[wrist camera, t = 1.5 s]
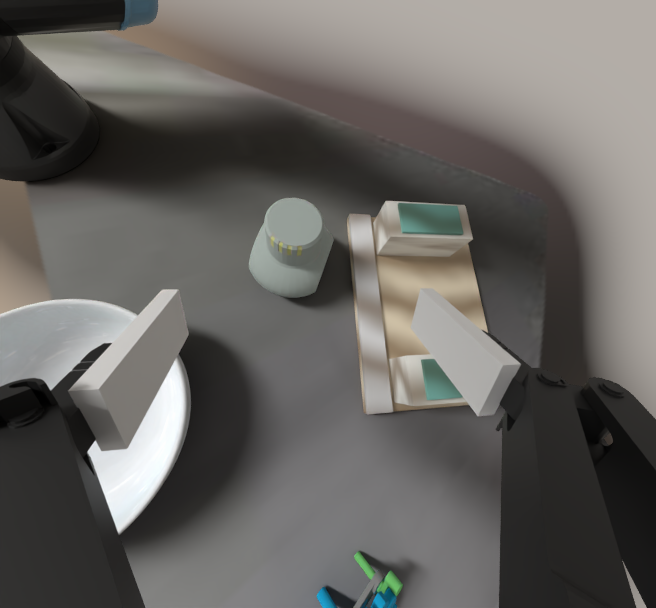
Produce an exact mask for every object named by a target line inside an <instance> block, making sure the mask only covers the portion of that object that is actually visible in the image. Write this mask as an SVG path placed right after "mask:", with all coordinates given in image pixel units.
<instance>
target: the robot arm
mask: <svg viewBox="0 0 656 608" xmlns="http://www.w3.org/2000/svg"><path fill="white" fill-rule="evenodd" d="M157 12H158V0H0V179H5V180H11V181H36V180H42V179H47V178H51V177H55V176H58V175H60V174H63V173H65V172H67V171H69V170H71V169H73V168H75V167H76V166H78V165H79V164H80V163H82V162H83V161H84V160H85V159H86V158H87V157H88V156H89V155H90V154H91V153H92V151H93V150H94V148H95V146H96V144H97V142H98V138H99V124H98V121H97V118H96V116H95V114H94V113H93V111H92V110H91V109H90V107H89V106H88V104H87V103H86V102H85V100H84V99H83V98H82V96H81V95H80V94H79V93H78V92H77V91H76V90H75V89H74V88H72V87H71V86H70V85H69V84H68V83H66V82H65V81H63V80H61V79H60V78H59V77H58V76H57V75H56V74H55V73H54V72H53V71H52V70H50V69H49V68H48V67H47V66H46V65H45V64H44V63H43V62H42V61H41V60H40V59H38V58H37V57H36V56H35V55H34V54H33V53H32V52H31V51H29V50H28V49H27V48H26V47H25V46H24V44H23V43H22V42H21V41H20V40H19V38H18V37H17V36H18V35H33V34H51V33H69V32H86V31H104V30H125V29H126V28H127V27H133V26H138V25H145V24H149V23H151V22H152V21H153V20H154V19H155V18H156V15H157ZM411 329H412V330H413V332H414V333H415V334H416V336H417V337H418V338H419V340H420V341H421V342H422V344H423V345H424V346H425V347H426V349H427V350H428V351H429V353H430V354H431V355H432V357H433V358H434V359H435V361H436V362H437V363H438V365H439V366H440V367H441V369H442V370H443V371H444V372H445V374H446V375H447V376H448V378H449V379H450V380H451V382H452V383H453V384H454V386H455V387H456V388H457V390H458V391H459V392H460V393H461V395H462V396H463V397H464V399H465V400H466V401H467V403H468V404H469V405H470V407H471V408H472V409H473V411H474V412H475V413H476V415H477V416H486V415H494V414H495V412H496V410H497V408H498V407H499V405H501V406H502V407H503V408H504V409H505V410H506V412H505V414H504V416H503V417H502V419H501V421H500V423H499V424H498V426H497V429H496V430H497V431H499V430H500V429H501V428H503V429H502V481H501V534H500V586H499V608H636V605H635V602H634V599H633V595H632V592H631V589H630V585H629V582H628V579H627V575H626V572H625V569H624V565H623V562H624V564H625V566H626V568H627V570H628V572H629V574H630V576H631V577H632V579H633V581H634V583H635V585H636V587H637V589H638V591H639V593H640V595H641V597H642V599H643V601H644V603H645V605H646V607H647V608H656V419H655V418H654V417H653V416H652V415H651V414H650V413H649V412H648V411H647V410H646V409H645V408H644V406H643V405H642V404H641V403H640V402H639V401H638V400H637V399H636V398H635V397H634V396H633V395H632V394H631V393H630V392H629V391H627V390H626V389H624V388H623V387H621V386H620V385H619V384H617V383H613V382H612V381H609V380H605V379H602V378H595V377H594V378H589V380H588V381H587V382H586V384H585V385H584V387H582V386H577V385H571V384H568V383H567V382H566V381H565V380H564V379H563V378H562V377H560V376H558V375H557V374H555V373H553V372H550V371H548V370H544V369H541V368H531V367H530V366H529V365H528V364H526V363H525V362H524V361H523V360H522V359H520V358H519V357H518V356H517V355H516V354H514V353H513V352H512V351H511V350H510V349H508V348H507V347H506V346H505V345H504V344H501V342H500V341H499V340H498V339H496V338H495V337H494V336H493V335H491V334H489V333H487V332H486V331H484V330H481V329H479V328H478V327H477V326H476V325H475V324H474V323H472V322H471V321H470V320H469V319H468V318H467V317H465V316H464V315H463V314H462V313H461V312H460V311H458V310H457V309H456V308H455V307H454V306H453V305H451V304H450V303H449V302H448V301H447V300H446V299H444V298H443V297H442V296H441V295H440V294H439V293H437V292H436V291H435V290H434V289H433V288H421V289H420V293H419V296H418V300H417V304H416V308H415V312H414V316H413V320H412V324H411ZM188 335H189V333H188V328H187V324H186V319H185V315H184V310H183V306H182V302H181V297H180V293H179V289H178V290H161V291H160V293H159V294H158V295H157V296H156V297H155V298H154V299H153V300H152V301H151V302H150V303H149V304H148V305H147V306H146V308H145V309H144V310H143V311H142V312H141V313H140V314H139V315H138V316H137V317H136V318H135V319H134V320H133V322H132V323H131V324H130V325H129V326H128V327H127V328H126V329H125V330H124V331H123V332H122V333H121V334H120V335H119V337H118V338H117V339H116V340H115V341H114V342H113V343H104V344H102V345H100V346H98V347H97V348H95V349H93V350H92V351H90V352H89V353H88V354H87V355H86V356H85V357H84V358H83V359H82V360H81V361H80V363H78V364H77V365H76V366H75V367H74V368H73V369H72V371H70V372H69V373H68V374H67V375H66V376H65V377H64V378H63V379H62V380H61V381H60V382H59V383H58V384H57V385H56V386H55V387H54V388H53V389H52V390H51V391H50V389H49V387H48V386H47V384H46V383H45V382H44V381H43V380H42V379H38V378H28V379H21V380H18V381H14V382H11V383H8V384H5V385H3V386H1V387H0V608H145V605H144V603H143V600H142V597H141V594H140V592H139V589H138V586H137V583H136V581H135V578H134V575H133V572H132V570H131V567H130V564H129V561H128V559H127V556H126V553H125V550H124V548H123V545H122V542H121V539H120V537H119V534H118V531H117V528H116V526H115V523H114V520H113V517H112V515H111V512H110V509H109V506H108V504H107V501H106V498H105V495H104V493H103V490H102V487H101V484H100V482H99V479H98V476H97V473H96V471H95V468H94V465H93V462H92V460H91V457H90V456H89V454H88V450H89V449H90V447H91V446H92V444H93V443H94V441H96V442H97V444H98V446H99V448H100V450H101V451H111V450H121V449H128V447H129V445H130V443H131V441H132V439H133V437H134V436H135V434H136V432H137V430H138V428H139V426H140V424H141V423H142V421H143V419H144V417H145V415H146V413H147V411H148V410H149V408H150V406H151V404H152V402H153V400H154V398H155V397H156V395H157V393H158V391H159V389H160V387H161V385H162V384H163V382H164V380H165V378H166V376H167V374H168V372H169V371H170V369H171V367H172V365H173V363H174V361H175V359H176V358H177V356H178V354H179V352H180V350H181V348H182V346H183V345H184V343H185V341H186V339H187V337H188ZM609 432H610V433H611V435H612V438H613V443H612V444H611V445H608V444H607V443H606V441H605V440H604V438H605V437H606V436H607V435H608V433H609ZM622 560H623V562H622Z"/></svg>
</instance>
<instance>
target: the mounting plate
mask: <svg viewBox="0 0 656 608" xmlns="http://www.w3.org/2000/svg"><path fill="white" fill-rule="evenodd" d="M347 227H348V238H349V250H350V261H351V272H352V284H353V295H354V306H355V318H356V329H357V341H358V352H359V363H360V375H361V386H362V397H363V409H364V413H366V414H378V413H390V412H393V411H404V410H416V409H428V408H439V407H451V406H463V405H469V404H468V403H467V401H466V400H465V399H464V397H463V396H462V395H461V393H460V392H459V391H458V390H457V388H456V387H455V386H454V384H453V383H452V382H451V380H450V379H449V378H448V376H447V375H446V374H445V372H444V371H443V370H442V369H441V367H440V366H439V365H438V363H437V362H436V361H435V359H434V358H433V357H432V355H431V354H430V353H429V351H428V350H427V349H426V347H425V346H424V345H423V344H422V342H421V341H420V340H419V338H418V337H417V336H416V334H415V333H414V332H413V330H412V329H411V324H412V320H413V316H414V312H415V308H416V304H417V300H418V296H419V293H420V289H421V288H433V289H434V290H435V291H436V292H437V293H439V294H440V295H441V296H442V297H443V298H444V299H446V300H447V301H448V302H449V303H450V304H451V305H453V306H454V307H455V308H456V309H457V310H458V311H460V312H461V313H462V314H463V315H464V316H465V317H467V318H468V319H469V320H470V321H471V322H472V323H474V324H475V325H476V326H477V327H478V328H479V329H481V330H484V331H486V332H487V333H488V330H487V326H486V321H485V317H484V312H483V308H482V303H481V299H480V294H479V290H478V286H477V281H476V277H475V272H474V268H473V263H472V259H471V254H470V250H469V245H468V243H469V242H470V241H471V240H473V237H472V232H471V228H470V224H469V219H468V215H467V211H466V206H465V205H454V204H436V203H418V202H400V201H385V203H384V205H383V207H382V208H381V210H380V212H379V214H378V215H377V217H370V215H366V214H349V216H348V219H347Z"/></svg>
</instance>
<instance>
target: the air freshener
mask: <svg viewBox="0 0 656 608" xmlns="http://www.w3.org/2000/svg"><path fill="white" fill-rule="evenodd" d="M333 241H334V239H333V237H332V235H331V233H330V232H329V231H328V229H327V228H326V227H325V226H324V219H323V216H322V214H321V212H320V211H319V210H318V209H316V208H315V205H313V204H312V203H309V202H307V201H306V200H304V199H298V198H285V199H281V200H279V201H277V202H275V203H274V204H273V205H272V206H271V207H270V208H269V209H268V211H267V212H266V215H265V220H264V224H263V226H262V227H261V229H260V231H259V234H258V236H257V238H256V241H255V243H254V246H253V249H252V252H251V256H250V260H249V269H250V271H251V273H252V275H253V276H254V278H255V279H256V281H257V282H258V283H259V284H260V285H261V286H263V287H264V288H265V289H266V290H268V291H270V292H272V293H274V294H277V295H279V296H283V297H292V298H297V297H304V296H307V295H310V294H312V293H314V292H316V289H317V286H318V284H319V281H320V278H321V275H322V272H323V269H324V267H325V264H326V261H327V258H328V255H329V252H330V250H331V247H332V244H333Z"/></svg>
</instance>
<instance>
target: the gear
mask: <svg viewBox="0 0 656 608" xmlns="http://www.w3.org/2000/svg"><path fill="white" fill-rule="evenodd" d="M354 558H355V560H356V561H357V562H358V564H359V565H360V566H361V568H362V569H363V570H364V572H365V573H366V575H367V576H368V577H369V579H370V580H371V581H370V582H369V584H368V585H367V587H366V588H365V590H364V592H363V593H362V595H361V596H360V598H359V599H358V601H357V603H356V604H355V606H354V607H353V608H367V606H366V605H367V604H368V602H369V601H370V599H371V597H372V596H373V594H375V595H376V594H377V595H376V597H375V598H374V601H373V603H372V605H371V608H397V605H396V604H395V602H396V596H397V595H398V594H399V593H400V591H401V589H402V587H403V584H402V583H401V582H400V580H399V579H398V578H397V577H396V575H395V574H394V573H393V572H392V571H391V570H390V571H389V573H388V574H387V576H386V577H385V576H384V575H383V573H382V572H381V571H380V570H378V571H377V572H376V573H375V571H374V570H373V569H372V567H371V566H370V565H369V563H368V562H367V561H366V560H365V558H364V557H363V556H362V554H361V553H360V552H359V551H358V552H357V553H356V555H355V557H354ZM391 590H392V591H391ZM394 594H395V595H396V596H395V595H394ZM317 599H318V600H319V602H320V604H321V606H322V607H323V608H337V606H336V605H335V603H334V601H333V600H332V598H331V597H330V595H329V593H328V592H327V590H326V588H325V587H323V588H322V589H321V590H320V591H319V593H318V594H317Z"/></svg>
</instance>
